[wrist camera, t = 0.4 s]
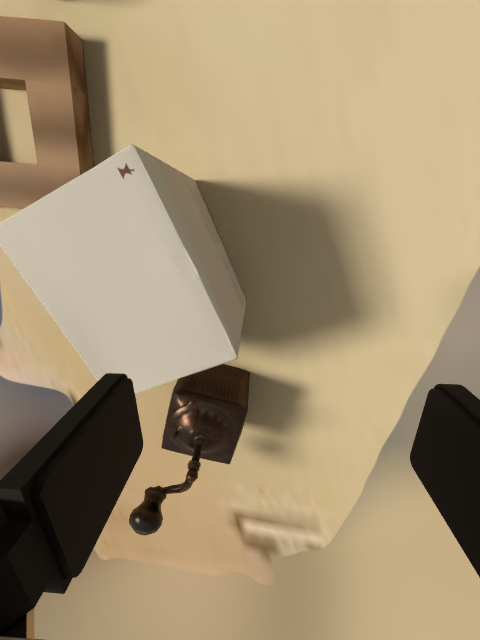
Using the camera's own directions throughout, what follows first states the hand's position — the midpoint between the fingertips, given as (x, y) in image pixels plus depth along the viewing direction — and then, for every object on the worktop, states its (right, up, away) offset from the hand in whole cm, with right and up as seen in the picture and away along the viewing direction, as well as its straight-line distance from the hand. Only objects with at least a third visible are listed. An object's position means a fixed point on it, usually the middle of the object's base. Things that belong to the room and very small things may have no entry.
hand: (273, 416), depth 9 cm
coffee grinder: (-7, -11, +37) cm, 39 cm away
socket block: (-28, +27, +24) cm, 46 cm away
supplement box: (-9, +11, +29) cm, 33 cm away
